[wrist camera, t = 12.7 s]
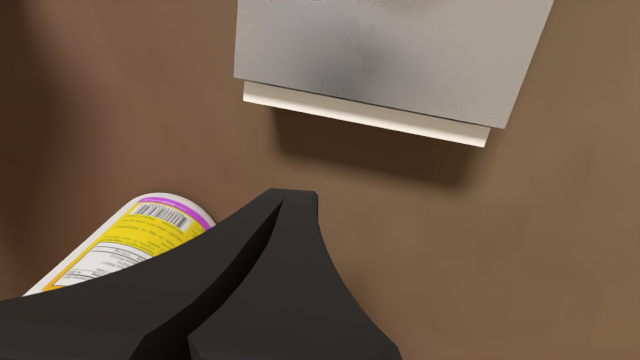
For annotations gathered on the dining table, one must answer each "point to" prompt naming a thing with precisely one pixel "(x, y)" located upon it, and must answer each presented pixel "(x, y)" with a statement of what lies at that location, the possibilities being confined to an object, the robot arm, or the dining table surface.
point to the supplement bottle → (130, 239)
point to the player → (395, 51)
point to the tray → (366, 113)
